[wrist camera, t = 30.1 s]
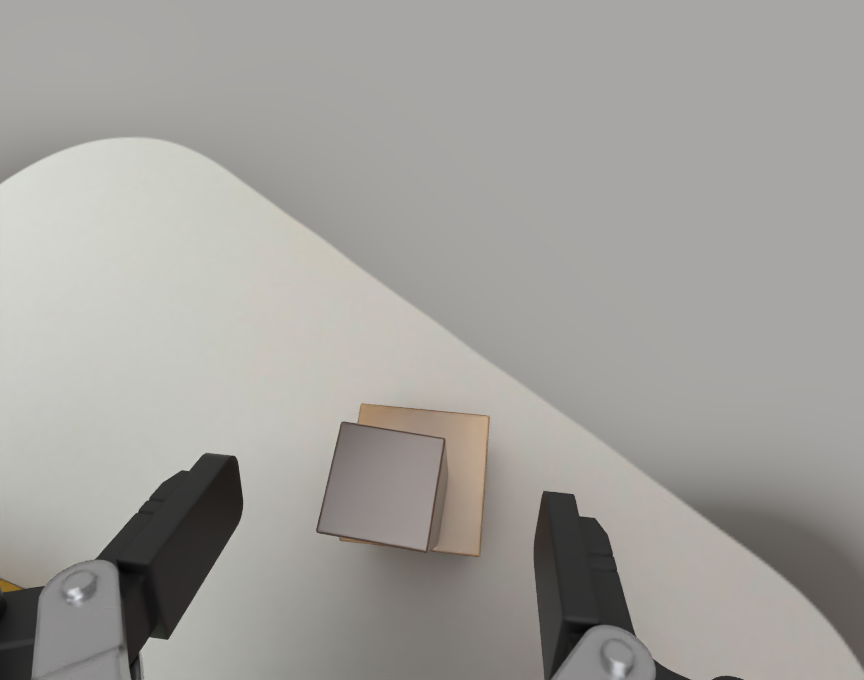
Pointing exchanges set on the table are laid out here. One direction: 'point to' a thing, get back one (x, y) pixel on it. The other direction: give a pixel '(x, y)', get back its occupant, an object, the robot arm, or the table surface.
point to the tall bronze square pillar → (386, 487)
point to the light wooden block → (464, 468)
